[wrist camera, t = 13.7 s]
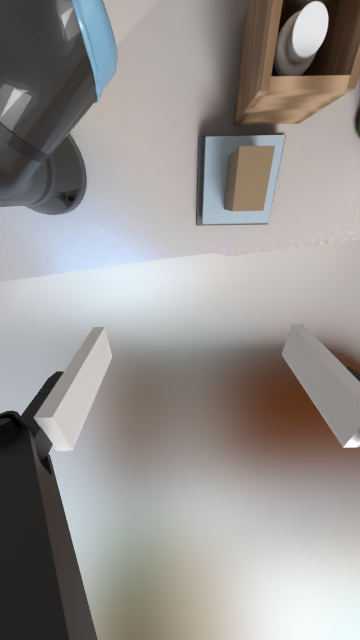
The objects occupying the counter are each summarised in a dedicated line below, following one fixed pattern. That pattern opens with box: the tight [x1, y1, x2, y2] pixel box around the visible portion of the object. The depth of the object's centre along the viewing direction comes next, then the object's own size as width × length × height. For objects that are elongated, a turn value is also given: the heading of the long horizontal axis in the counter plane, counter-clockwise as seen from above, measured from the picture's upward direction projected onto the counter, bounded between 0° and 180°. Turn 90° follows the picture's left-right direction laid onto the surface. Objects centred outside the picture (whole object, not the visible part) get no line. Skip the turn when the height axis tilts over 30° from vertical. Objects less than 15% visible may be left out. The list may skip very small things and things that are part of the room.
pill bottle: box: [271, 1, 328, 76], centre depth 26 cm, size 5×5×10 cm
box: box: [235, 0, 360, 124], centre depth 25 cm, size 11×11×12 cm
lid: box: [202, 135, 285, 224], centre depth 34 cm, size 13×13×9 cm
